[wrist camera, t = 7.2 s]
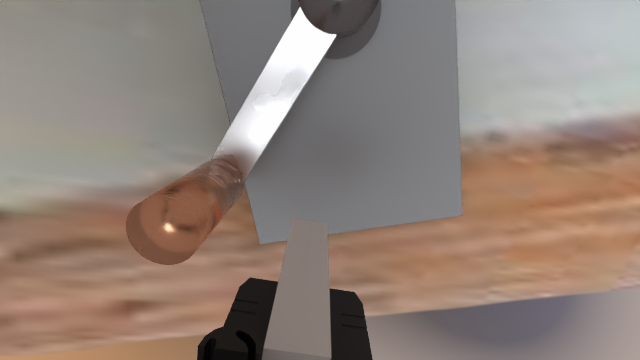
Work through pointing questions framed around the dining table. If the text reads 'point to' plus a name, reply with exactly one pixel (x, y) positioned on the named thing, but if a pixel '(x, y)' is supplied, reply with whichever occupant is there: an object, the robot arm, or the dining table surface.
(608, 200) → the dining table surface
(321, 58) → the lever
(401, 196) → the base
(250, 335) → the robot arm
